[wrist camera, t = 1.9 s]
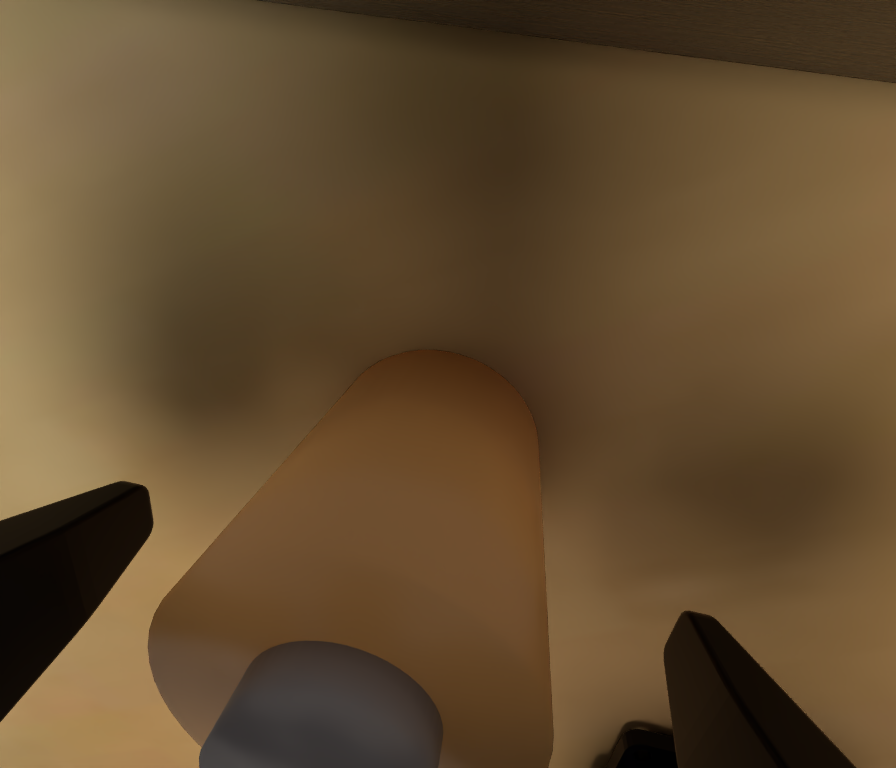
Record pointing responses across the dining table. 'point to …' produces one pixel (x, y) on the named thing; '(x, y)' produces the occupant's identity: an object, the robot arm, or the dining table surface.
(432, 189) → the dining table surface
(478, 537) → the cylinder
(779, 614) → the dining table surface
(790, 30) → the sink basin plate
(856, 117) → the dining table surface
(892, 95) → the dining table surface
